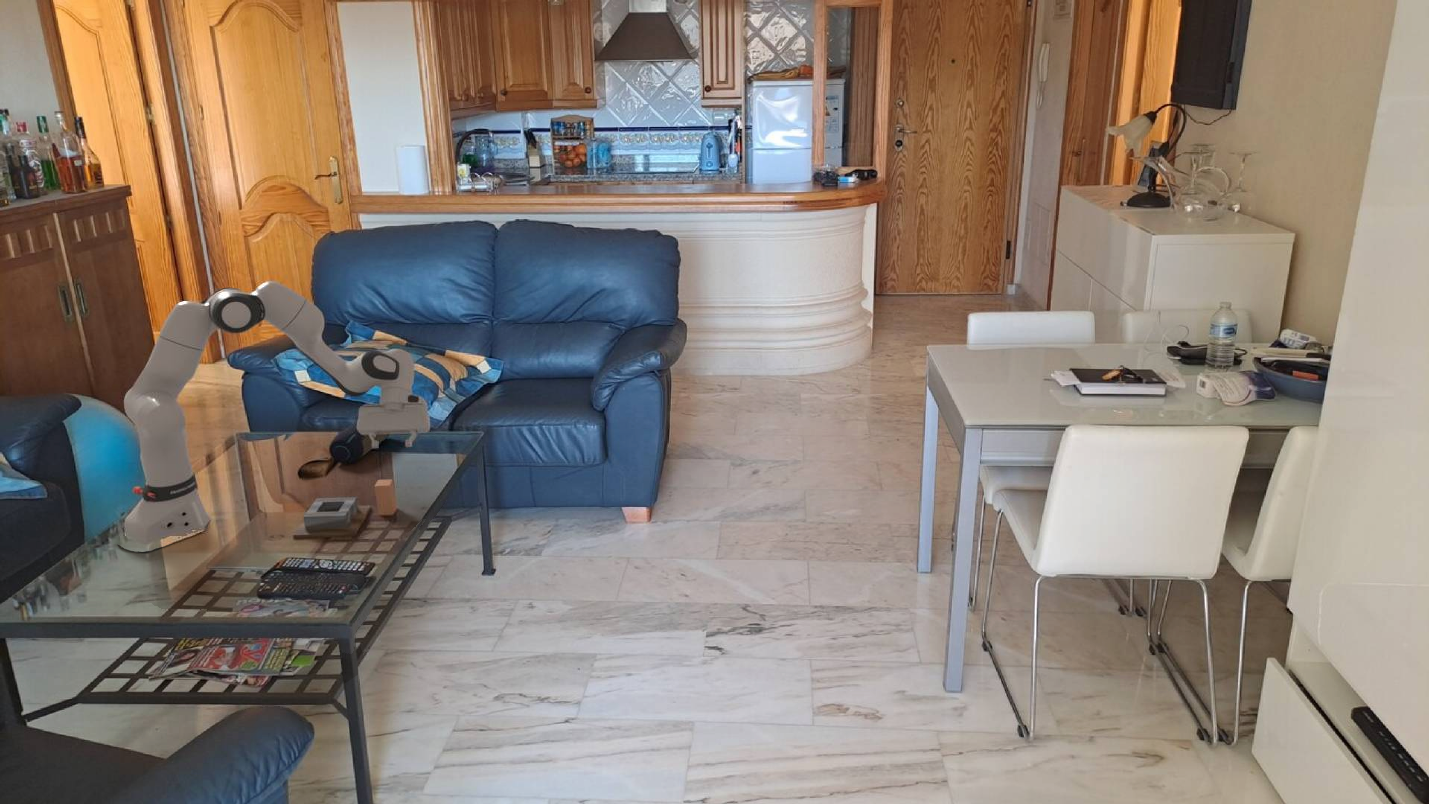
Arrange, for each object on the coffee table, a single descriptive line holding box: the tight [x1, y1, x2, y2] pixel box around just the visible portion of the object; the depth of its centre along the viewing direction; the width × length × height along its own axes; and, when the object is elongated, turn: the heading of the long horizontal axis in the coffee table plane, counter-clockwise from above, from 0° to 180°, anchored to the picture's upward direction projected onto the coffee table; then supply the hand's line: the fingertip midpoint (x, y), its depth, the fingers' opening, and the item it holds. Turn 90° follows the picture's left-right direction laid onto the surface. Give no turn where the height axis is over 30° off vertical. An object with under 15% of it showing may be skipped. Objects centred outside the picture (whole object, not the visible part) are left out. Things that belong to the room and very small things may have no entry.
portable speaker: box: [328, 420, 390, 465], centre depth 310 cm, size 25×10×10 cm, turn 169°
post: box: [374, 478, 398, 516], centre depth 270 cm, size 4×4×9 cm
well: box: [292, 496, 372, 539], centre depth 265 cm, size 16×16×5 cm
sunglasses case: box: [297, 445, 337, 479], centre depth 302 cm, size 18×7×7 cm
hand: (391, 447), depth 278 cm, fingers open, 8 cm apart
